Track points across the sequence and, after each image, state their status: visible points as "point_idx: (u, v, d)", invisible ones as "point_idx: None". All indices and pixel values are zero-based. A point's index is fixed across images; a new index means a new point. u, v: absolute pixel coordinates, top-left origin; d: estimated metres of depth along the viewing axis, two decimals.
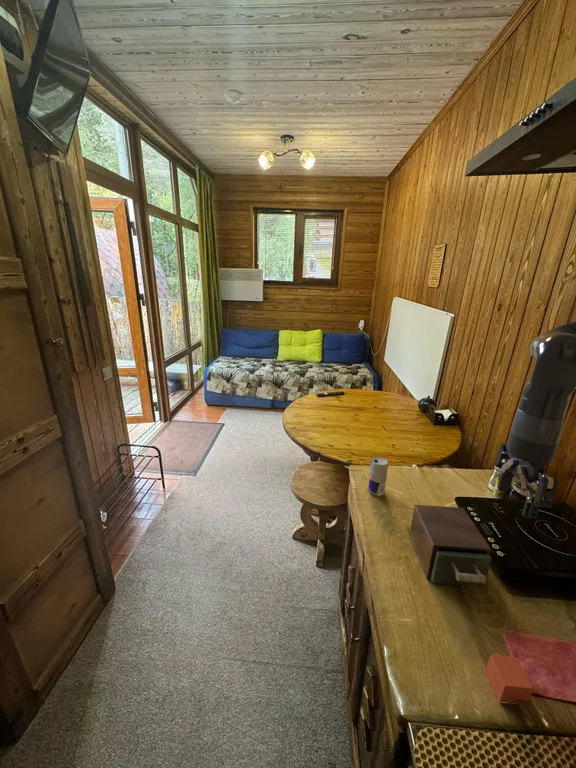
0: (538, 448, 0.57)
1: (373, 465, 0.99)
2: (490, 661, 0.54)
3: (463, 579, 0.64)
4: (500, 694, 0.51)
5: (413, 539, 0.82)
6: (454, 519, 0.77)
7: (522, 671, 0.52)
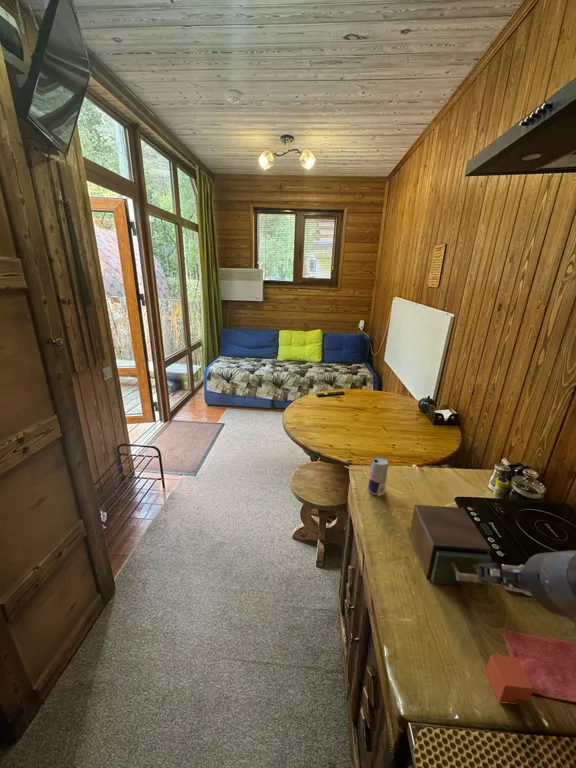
0: None
1: (373, 465, 0.99)
2: (490, 661, 0.54)
3: (463, 579, 0.64)
4: (500, 694, 0.51)
5: (413, 539, 0.82)
6: (454, 519, 0.77)
7: (522, 671, 0.52)
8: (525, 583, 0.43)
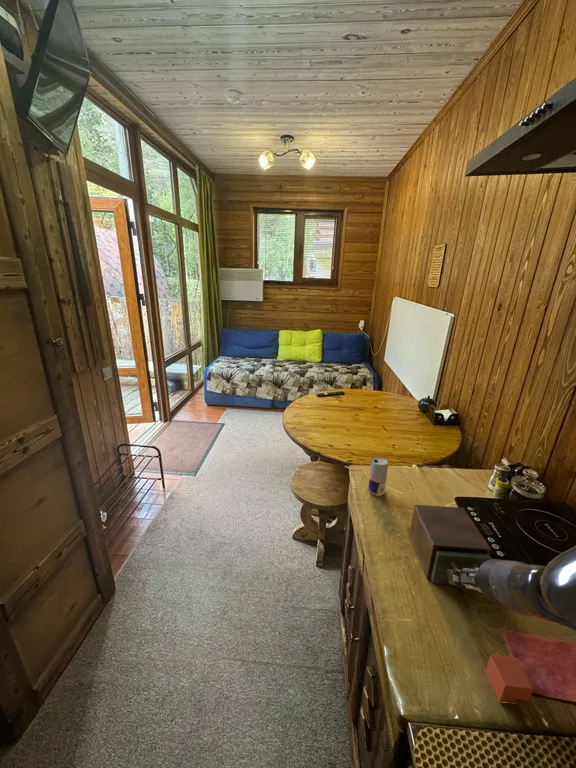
0: None
1: (373, 465, 0.99)
2: (490, 661, 0.54)
3: None
4: (500, 694, 0.51)
5: (413, 539, 0.82)
6: (454, 519, 0.77)
7: (522, 671, 0.52)
8: (478, 586, 0.55)
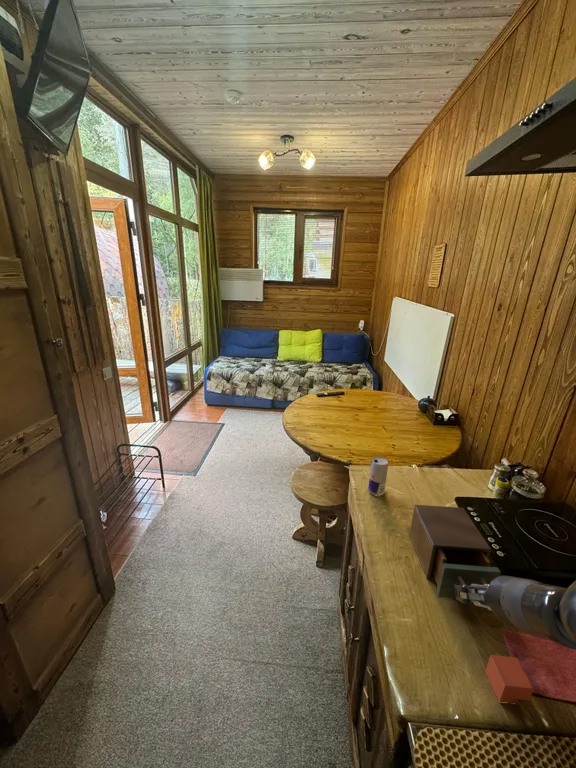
0: None
1: (373, 465, 0.99)
2: (490, 661, 0.54)
3: None
4: (500, 694, 0.51)
5: (413, 539, 0.82)
6: (454, 519, 0.77)
7: (522, 671, 0.52)
8: (489, 604, 0.52)
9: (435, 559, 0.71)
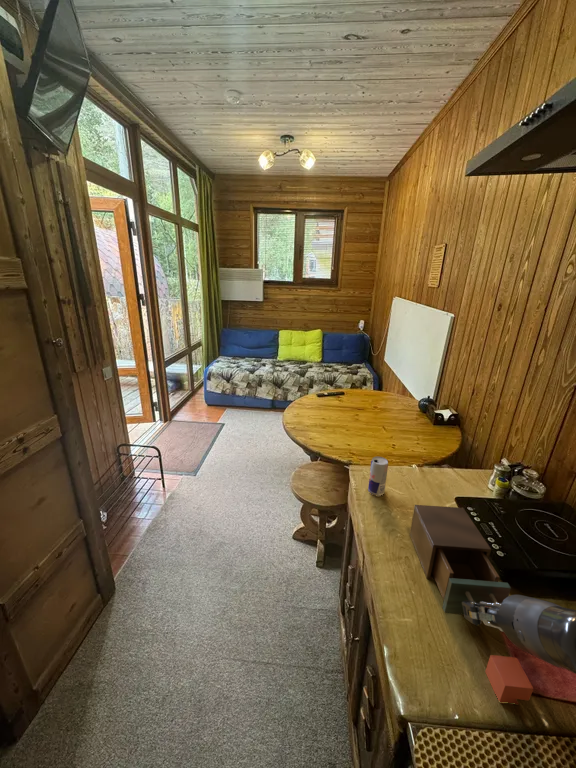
0: None
1: (373, 465, 0.99)
2: (490, 661, 0.54)
3: None
4: (500, 694, 0.51)
5: (413, 539, 0.82)
6: (454, 519, 0.77)
7: (522, 671, 0.52)
8: (500, 626, 0.49)
9: (441, 572, 0.68)
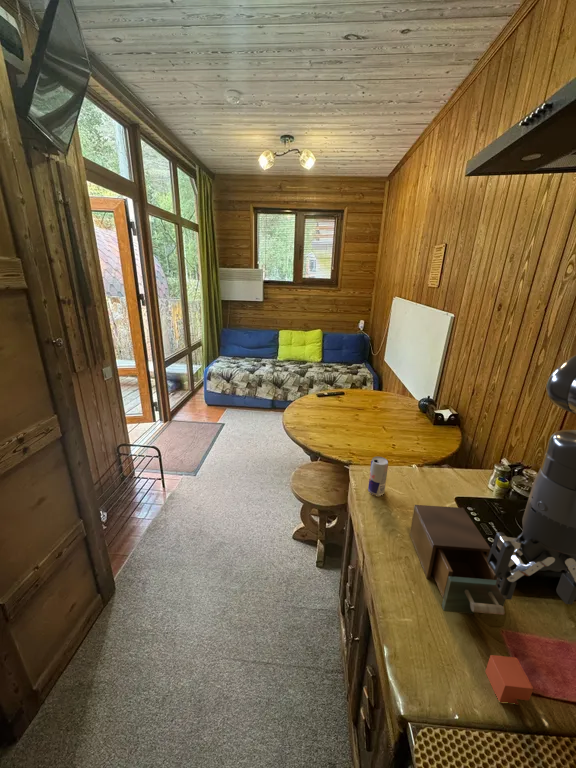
0: None
1: (373, 465, 0.99)
2: (490, 661, 0.54)
3: (479, 610, 0.58)
4: (500, 694, 0.51)
5: (413, 539, 0.82)
6: (454, 519, 0.77)
7: (522, 671, 0.52)
8: (531, 535, 0.42)
9: (440, 571, 0.68)
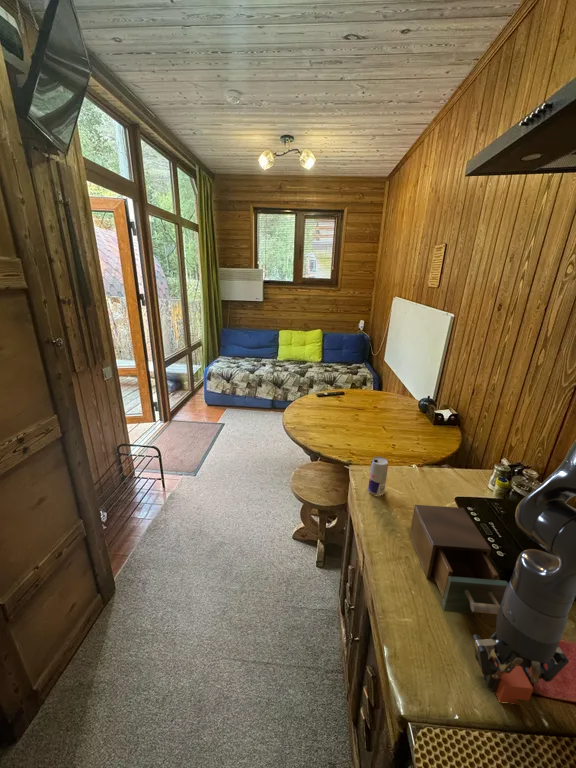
0: None
1: (373, 465, 0.99)
2: None
3: (479, 610, 0.58)
4: (500, 694, 0.51)
5: (413, 539, 0.82)
6: (454, 519, 0.77)
7: (522, 671, 0.52)
8: (502, 638, 0.48)
9: (440, 571, 0.68)
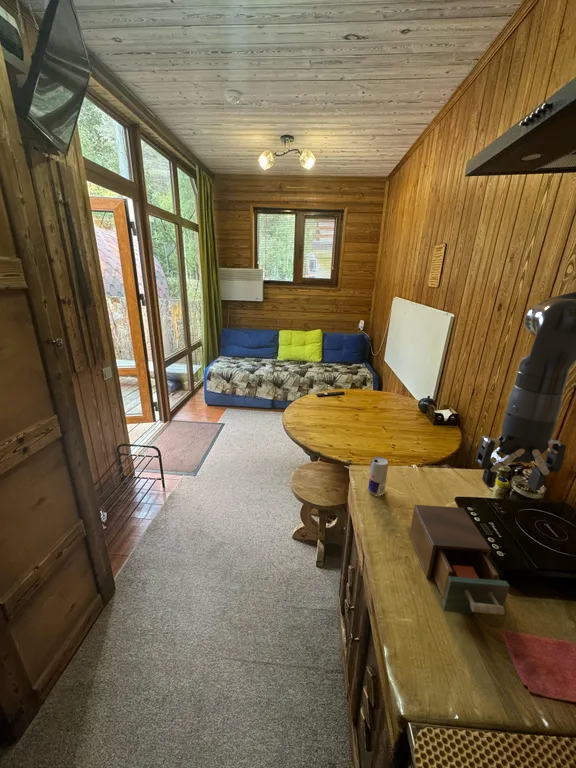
0: None
1: (373, 465, 0.99)
2: (452, 570, 0.69)
3: (479, 610, 0.58)
4: None
5: (413, 539, 0.82)
6: (454, 519, 0.77)
7: (475, 574, 0.67)
8: (507, 434, 0.57)
9: (440, 571, 0.68)
